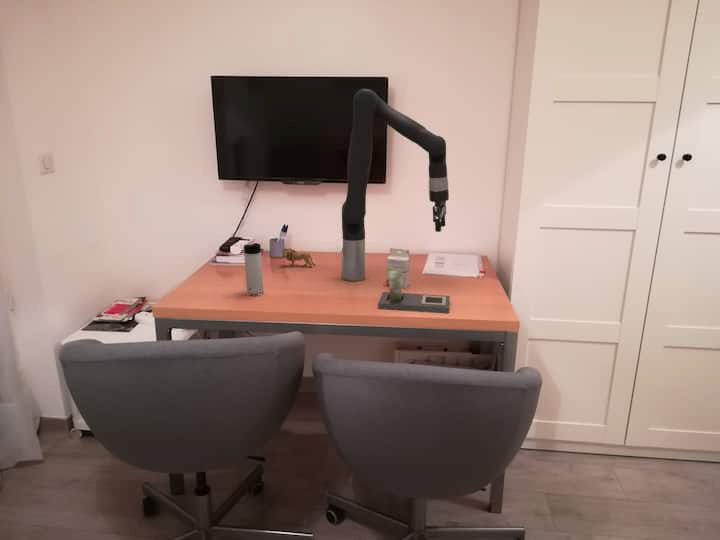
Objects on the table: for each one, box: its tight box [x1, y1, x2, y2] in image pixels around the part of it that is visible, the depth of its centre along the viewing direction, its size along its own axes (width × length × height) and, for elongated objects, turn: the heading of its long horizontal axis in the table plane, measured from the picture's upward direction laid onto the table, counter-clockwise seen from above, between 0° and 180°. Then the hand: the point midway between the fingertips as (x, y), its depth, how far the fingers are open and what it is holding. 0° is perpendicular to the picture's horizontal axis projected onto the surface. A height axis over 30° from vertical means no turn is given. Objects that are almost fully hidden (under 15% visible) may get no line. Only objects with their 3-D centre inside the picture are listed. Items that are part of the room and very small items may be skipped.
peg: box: [388, 271, 403, 302], centre depth 193 cm, size 4×4×12 cm
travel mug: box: [243, 243, 264, 296], centre depth 202 cm, size 6×7×20 cm
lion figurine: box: [281, 246, 316, 269], centre depth 237 cm, size 15×5×9 cm, turn 94°
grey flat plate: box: [377, 291, 451, 314], centre depth 194 cm, size 25×12×2 cm, turn 80°
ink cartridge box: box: [385, 247, 411, 289], centre depth 212 cm, size 9×5×15 cm, turn 71°
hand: (440, 228), depth 212 cm, fingers open, 8 cm apart
